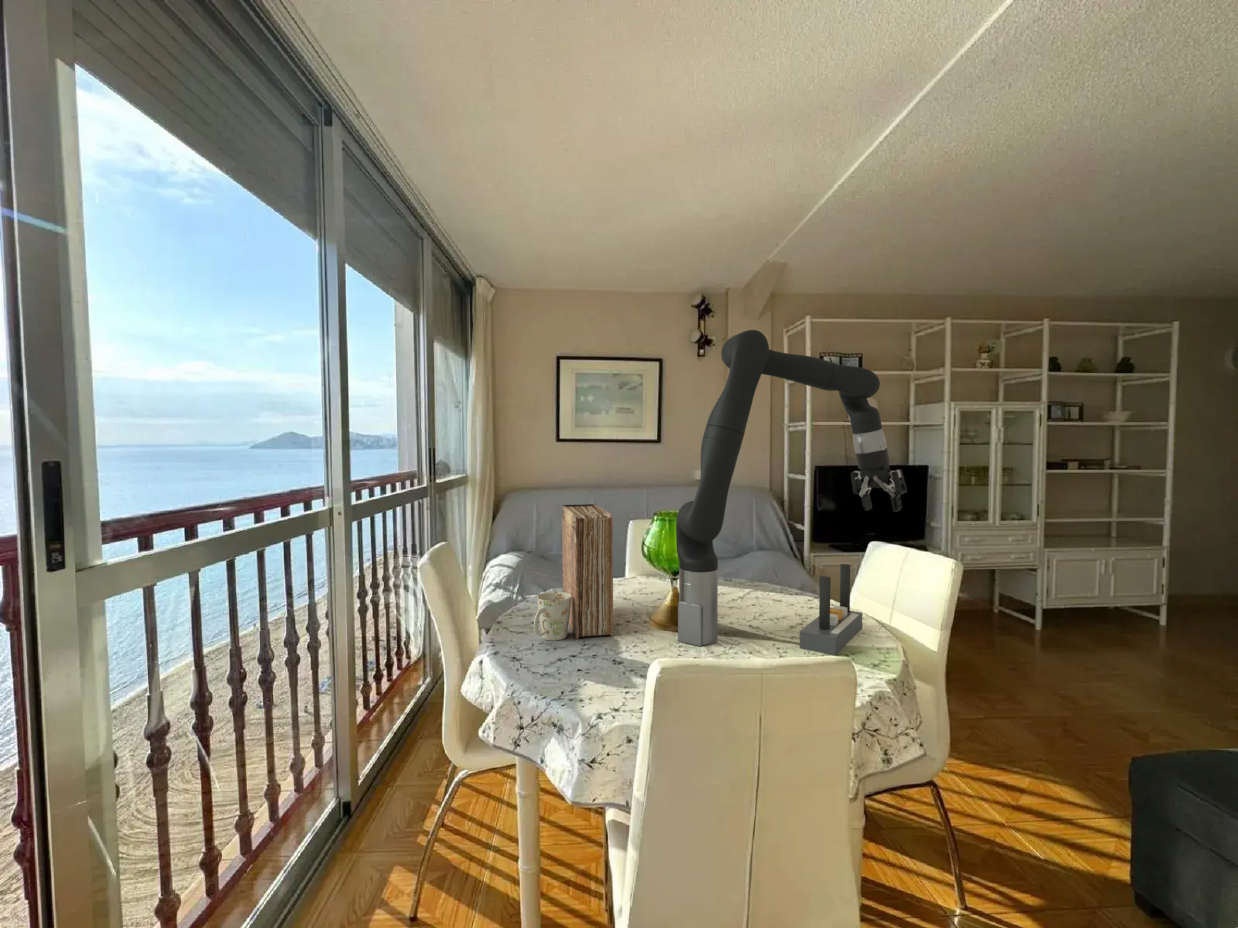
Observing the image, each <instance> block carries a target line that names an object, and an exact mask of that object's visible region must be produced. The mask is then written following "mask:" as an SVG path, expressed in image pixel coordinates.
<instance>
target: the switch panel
mask: <svg viewBox="0 0 1238 928" xmlns="http://www.w3.org/2000/svg"><path fill="white" fill-rule="evenodd" d="M832 608H834V609H840V610H843V618H842V619H841V620H838V615H835V614H830V629H829V630H822V629H820V628H819V616H818V617H816V618H815V619H814V620H812V621H811V622H809V624H806V626H804V627H802V628H801V630H799V649H803V650H807V651H813V652H817V653H821V654H825V655H826V654H827V655H831V656H836V655H837V654H838V653H839V652H840V651H841V650H842V649H843V648H844V647H845V646H846V645H847V644H848V643H849V642H850V641H851V640H852V639H853V638H854V637H855V636H856V635H857V634H858V633H859V632H860V631H861V630H862V629H863V612H861V611H860V612H859V611H854V610H850V612H848V613H847V607H841V606H840V605H833V606H832Z"/></svg>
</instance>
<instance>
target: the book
mask: <svg viewBox="0 0 1238 928" xmlns="http://www.w3.org/2000/svg"><path fill="white" fill-rule="evenodd" d="M561 541H562V543H561V544H562V545H561V550H562V552H561V553H562V556H561V557H562V561H561V563H562V567H561V568H562V592H564V593H568V594H570V595H571V607H570V615H569V623H568V626H569V627H570V630H571V632H572V634H573V636H574V638H575V640H576V641H578V640H579V638H580V637H593V636H606V635H607V636H608V635H609V636H610V637H614V515H613V514H612V513H611V512H608V511H607V510H605V509H603V508H602V507H600V506H598V505H596V504H594V503H592V504H562V505H561Z"/></svg>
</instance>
